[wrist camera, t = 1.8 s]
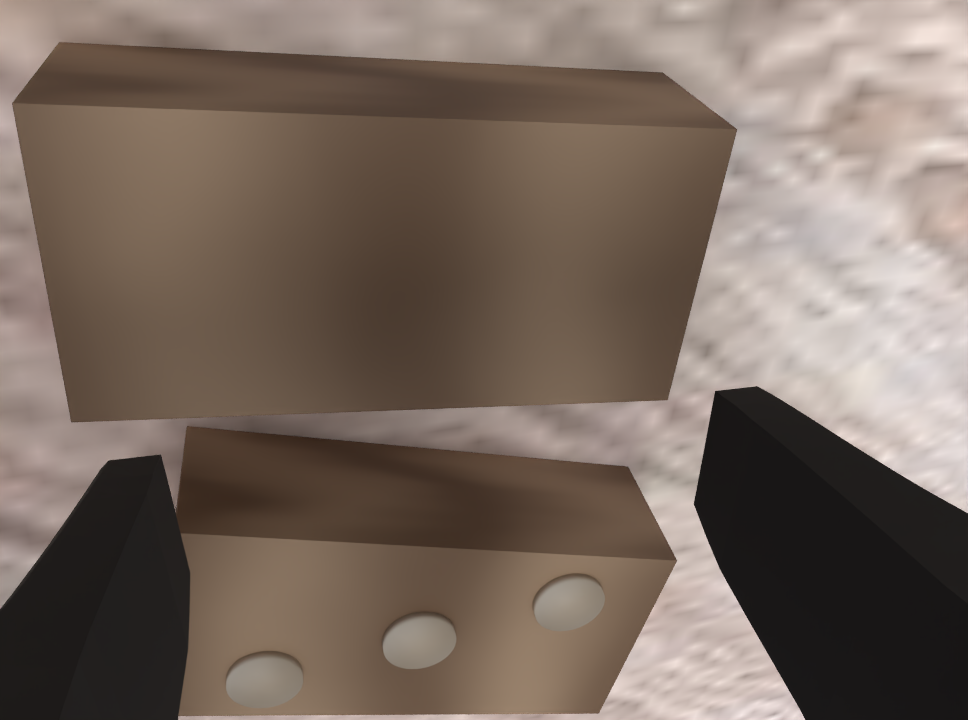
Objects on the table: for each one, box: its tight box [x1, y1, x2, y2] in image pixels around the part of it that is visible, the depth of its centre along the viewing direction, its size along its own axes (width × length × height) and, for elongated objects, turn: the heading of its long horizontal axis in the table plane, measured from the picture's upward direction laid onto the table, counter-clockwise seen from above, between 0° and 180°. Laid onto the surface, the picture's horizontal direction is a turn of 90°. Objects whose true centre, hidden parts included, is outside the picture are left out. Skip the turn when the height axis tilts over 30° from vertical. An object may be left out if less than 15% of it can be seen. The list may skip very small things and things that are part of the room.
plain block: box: [12, 42, 737, 422], centre depth 18 cm, size 12×6×4 cm, turn 84°
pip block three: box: [176, 426, 677, 716], centre depth 23 cm, size 12×6×4 cm, turn 74°
